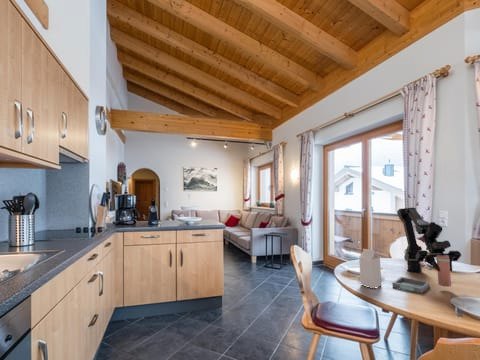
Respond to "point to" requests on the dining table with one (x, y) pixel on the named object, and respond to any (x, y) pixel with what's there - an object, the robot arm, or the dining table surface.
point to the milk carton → (370, 268)
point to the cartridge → (444, 270)
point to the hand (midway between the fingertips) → (445, 271)
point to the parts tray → (411, 285)
